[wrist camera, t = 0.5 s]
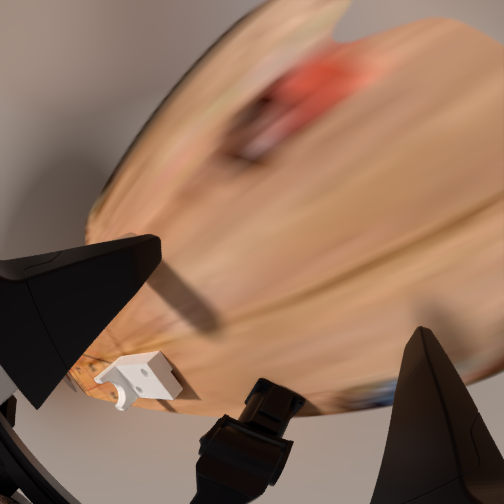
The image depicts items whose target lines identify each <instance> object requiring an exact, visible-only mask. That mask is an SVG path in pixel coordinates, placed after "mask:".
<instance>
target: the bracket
mask: <svg viewBox="0 0 504 504" xmlns="http://www.w3.org/2000/svg"><path fill="white" fill-rule="evenodd" d="M172 370H173V368H172V367H171V366H170V364H169V363H168V361H167V360H166V359H165V357H164V356H163V354H162V353H161V351H155V352H148V353H142V354H134V355H127V356H120V357H119V358H118V359H117V360H116V361H114V362H113V363H112V364H111V365H110V366H109V367H107V368H106V369H105V370H104V371H103V372H101V373H100V374H99V375H98V376H97V377H96V378H94V380H95V381H96V382H97V383H101V384H103V383H105V382H107V381H109V382H111V383H113V384H114V385H115V387H116V388H117V390H118V393H119V399H118V402H117V404H116V408H117V409H118V410H122V411H126V410H127V409H128V408H129V407H130V406H131V405H132V404H133V403H134V402H135V400H136V399H137V398H138V397H142V398H154V399H169V400H174V399H175V398H176V397H177V396H178V395H179V393H180V392H181V391H182V390H183V388H182V387H181V385H180V384H179V383H178V381H177V380H176V379H175V377H174V376H173V375H172V373H171V371H172Z"/></svg>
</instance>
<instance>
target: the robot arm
mask: <svg viewBox="0 0 504 504" xmlns="http://www.w3.org/2000/svg"><path fill="white" fill-rule="evenodd" d="M161 259H162V252H161V240H160V238H159V237H158V236H155V235H152V234H146V235H140V236H135V237H129V238H123V239H118V240H112V241H107V242H102V243H96V244H91V245H86V246H81V247H76V248H71V249H66V250H63V251H62V250H61V251H56V252H51V253H46V254H40V255H34V256H28V257H22V258H16V259H10V260H0V504H31V502H32V503H33V504H81V503H80V502H79V501H78V500H77V499H76V498H74V497H73V496H72V495H71V494H70V493H69V492H68V491H67V490H66V489H65V488H64V487H63V486H62V485H61V484H60V483H59V482H58V481H57V480H56V479H55V478H54V477H53V476H52V475H51V474H50V473H49V472H48V471H47V470H46V469H45V468H44V467H43V465H42V464H41V463H40V462H39V461H38V460H37V459H36V458H35V456H34V455H33V454H32V453H31V452H30V451H29V449H28V448H27V447H26V446H25V444H24V443H23V442H22V441H21V439H20V438H19V437H18V435H17V434H16V433H15V431H14V430H13V429H12V428H13V427H14V425H15V413H16V402H17V399H16V398H15V396H14V395H13V393H14V392H15V391H16V390H18V389H19V390H20V391H21V392H22V394H23V395H24V396H25V397H26V398H27V399H28V401H29V402H30V403H31V404H32V405H33V406H34V407H35V409H36V410H38V409H39V408H40V407H41V405H42V404H43V403H44V402H45V400H46V399H47V398H48V396H49V395H50V394H51V393H52V391H53V390H54V389H55V387H56V386H57V385H58V384H59V383H60V381H61V380H62V379H63V378H64V376H65V375H66V374H67V372H68V370H70V369H71V367H72V366H73V365H74V364H75V363H76V361H77V360H78V359H79V358H80V357H81V355H82V354H83V353H84V352H85V351H86V350H87V348H88V347H89V346H90V345H91V344H92V343H93V341H94V340H95V339H96V338H97V337H98V336H99V334H100V333H101V332H102V331H103V330H104V329H105V328H106V326H107V325H108V324H109V323H110V322H111V321H112V320H113V319H114V317H115V316H116V315H117V314H118V313H119V312H120V311H121V310H122V309H123V307H124V306H125V305H126V304H127V303H128V302H129V301H130V300H131V299H132V298H133V297H134V295H135V294H136V293H137V292H138V291H139V289H140V288H141V287H142V286H143V284H144V283H145V282H146V280H147V279H148V278H149V276H150V275H151V274H152V273H153V271H154V270H155V269H156V267H157V266H158V265H159V263H160V262H161ZM244 403H245V404H246V407H245V409H244V410H243V412H242V414H241V415H240V417H239V419H238V420H236V419H233V418H231V417H229V416H228V415H226V414H225V415H224V416H223V417H222V418H220V419H218V421H217V422H216V424H215V425H214V426H213V427H212V428H211V429H210V431H208V432H207V433H206V434H205V435H204V436H202V437H201V439H200V440H199V442H200V445H201V446H200V449H199V455H200V456H201V457H200V458H199V460H198V461H197V463H196V482H197V493H196V495H195V496H194V498H193V500H192V501H191V502H190V504H249V503H250V502H252V501H254V500H256V499H257V498H258V497H260V495H262V494H263V493H264V492H265V489H266V488H267V486H268V485H270V486H274V485H275V484H276V482H277V480H278V479H279V477H280V475H281V473H282V471H283V469H284V467H285V464H286V461H287V459H288V456H289V454H290V451H291V448H292V445H293V443H294V441H291V440H290V441H288V440H286V439H283V438H282V437H283V435H284V432H285V430H286V428H287V426H288V423H289V421H290V419H291V418H292V417H293V416H294V415H295V414H296V413H297V412H298V411H299V410H300V409H301V407H302V406H303V405H304V404H305V399H303V398H301V397H299V396H297V395H295V394H293V393H291V392H289V391H286V390H284V389H282V388H280V387H278V386H276V385H274V384H273V383H271V382H269V381H267V380H265V379H263V378H259V379H258V381H257V382H256V384H255V386H254V387H253V389H252V391H251V392H250V394H249V396H248V397H247V399H246V400H245V402H244ZM18 488H20V489H21V491H22V492H23V493H24V494H25V496H26V497H27V498H28V499H29V500H30V501H31V502H29V501H28V500H27V499H26V498H25V497H24V496H23V495H21V494H20V493H18V492H17V489H18ZM370 504H504V459H503V457H502V455H501V453H500V452H499V450H498V448H497V446H496V444H495V442H494V440H493V438H492V437H491V435H490V433H489V431H488V429H487V427H486V425H485V423H484V421H483V419H482V417H481V415H480V413H479V412H478V409H477V407H476V405H475V403H474V401H473V399H472V398H471V396H470V394H469V392H468V390H467V388H466V387H465V385H464V383H463V381H462V379H461V378H460V376H459V374H458V373H457V371H456V369H455V367H454V366H453V364H452V362H451V361H450V359H449V358H448V356H447V354H446V353H445V351H444V349H443V348H442V346H441V345H440V343H439V342H438V340H437V338H436V337H435V335H434V334H433V332H432V331H431V330H430V329H429V328H425V327H422V326H419V327H418V328H417V329H416V330H415V332H414V333H413V335H412V336H411V338H410V340H409V341H408V343H407V344H406V346H405V349H404V353H403V359H402V363H401V368H400V373H399V377H398V382H397V386H396V390H395V395H394V402H393V408H392V415H391V420H390V426H389V431H388V437H387V441H386V446H385V451H384V455H383V459H382V464H381V467H380V471H379V475H378V479H377V482H376V486H375V489H374V493H373V496H372V499H371V502H370Z"/></svg>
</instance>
